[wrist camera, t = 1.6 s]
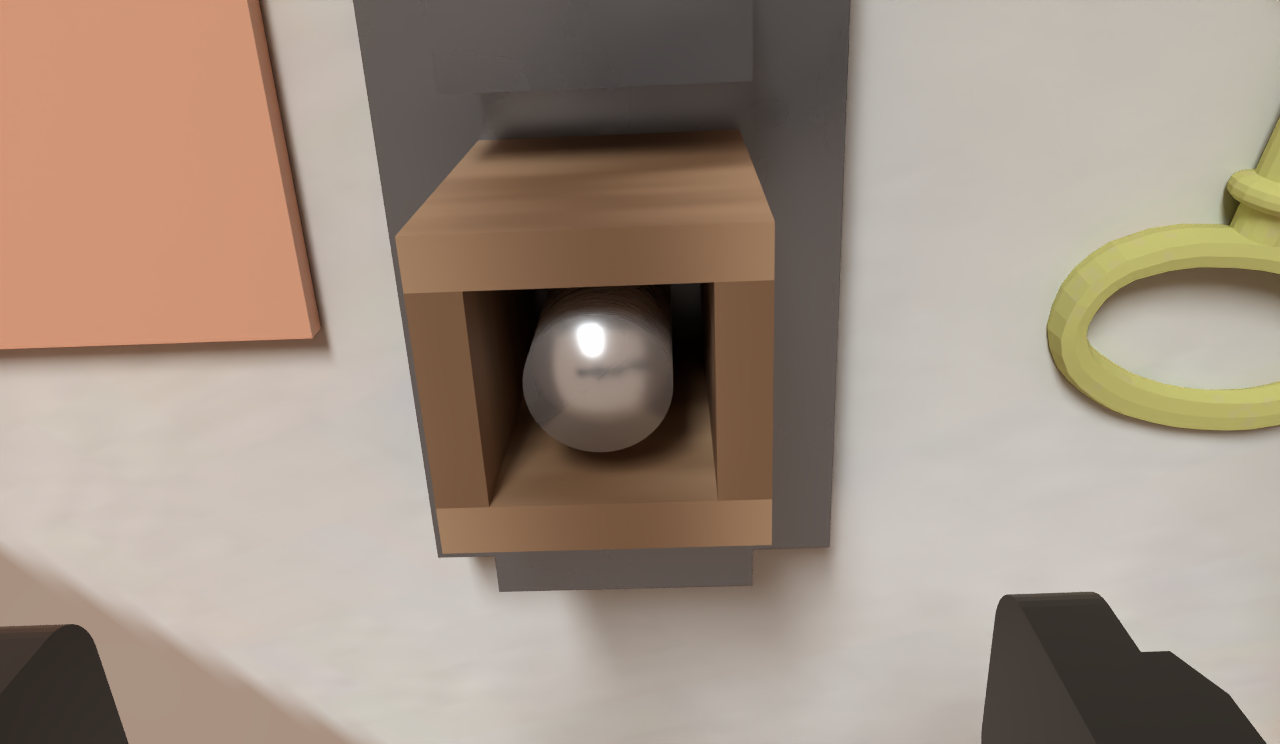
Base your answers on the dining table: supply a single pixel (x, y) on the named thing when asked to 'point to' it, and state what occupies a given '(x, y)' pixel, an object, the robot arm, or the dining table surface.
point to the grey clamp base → (636, 314)
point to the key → (1256, 239)
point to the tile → (145, 178)
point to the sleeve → (590, 257)
